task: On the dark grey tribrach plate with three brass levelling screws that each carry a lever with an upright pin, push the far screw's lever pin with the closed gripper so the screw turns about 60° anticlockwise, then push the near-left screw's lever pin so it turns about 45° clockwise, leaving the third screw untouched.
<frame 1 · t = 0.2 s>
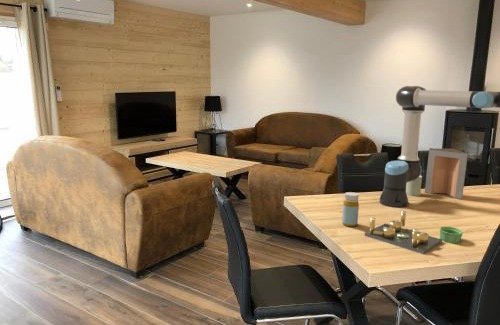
tribrach: (402, 238, 169), on the table
knob 2: (398, 220, 177), point 5 cm above the table, hinge at 0.0°
knob 1: (419, 235, 160), point 5 cm above the table, hinge at 0.0°
cabinet: (444, 195, 240), on the table
ramekin: (450, 240, 169), on the table
can: (412, 194, 241), on the table
bottle: (349, 224, 185), on the table
knob 3: (382, 227, 169), point 5 cm above the table, hinge at 0.0°
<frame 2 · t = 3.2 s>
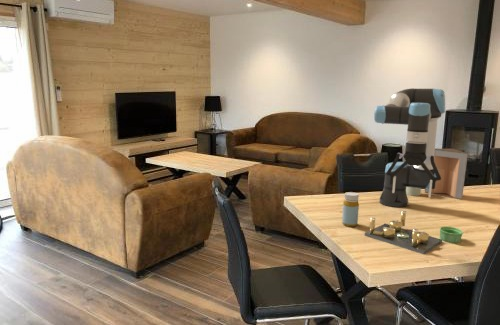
hand: (411, 194, 159), 21 cm above the table, fingers open, 13 cm apart
nothing on the table moved.
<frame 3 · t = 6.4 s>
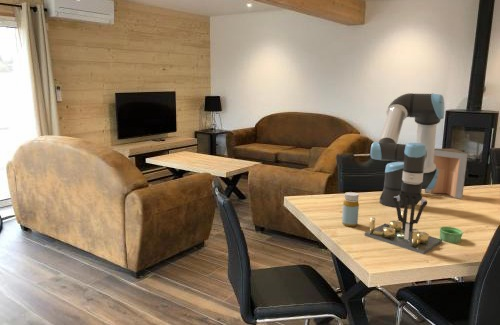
hand: (406, 238, 160), 3 cm above the table, fingers closed
knob 1: (419, 235, 160), point 5 cm above the table, hinge at 0.1°, touching gripper
everything else where it was.
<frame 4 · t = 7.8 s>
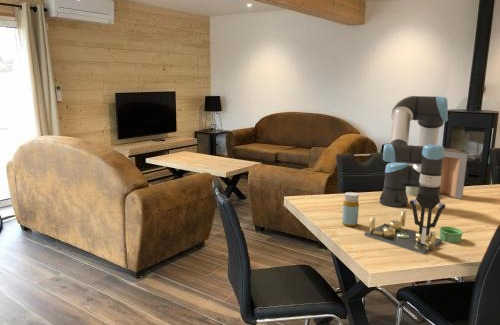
hand: (423, 242, 156), 4 cm above the table, fingers closed
knob 1: (426, 235, 159), point 5 cm above the table, hinge at 54.7°, touching gripper
everything else where it was.
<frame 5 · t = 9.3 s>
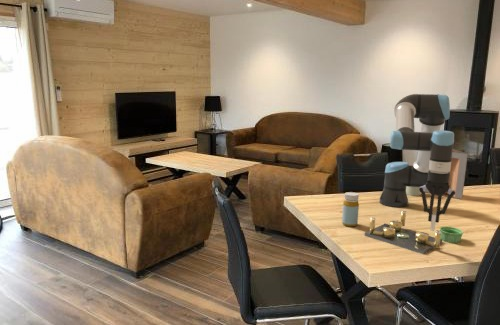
hand: (432, 229, 155), 9 cm above the table, fingers closed
knob 1: (428, 235, 160), point 5 cm above the table, hinge at 76.0°
everything else where it was.
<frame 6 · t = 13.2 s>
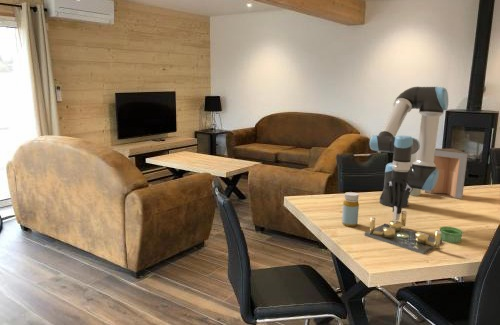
hand: (396, 219, 183), 4 cm above the table, fingers closed
knob 2: (398, 220, 177), point 5 cm above the table, hinge at -2.2°, touching gripper
everything else where it was.
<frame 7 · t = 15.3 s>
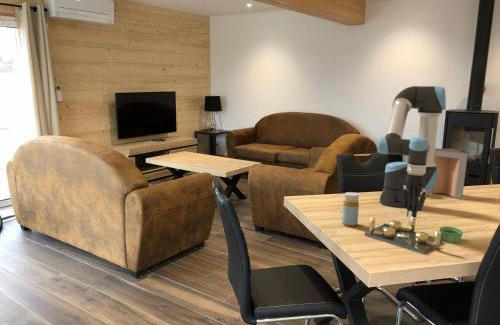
hand: (410, 224, 176), 3 cm above the table, fingers closed
knob 2: (402, 222, 175), point 5 cm above the table, hinge at -65.3°
everything else where it was.
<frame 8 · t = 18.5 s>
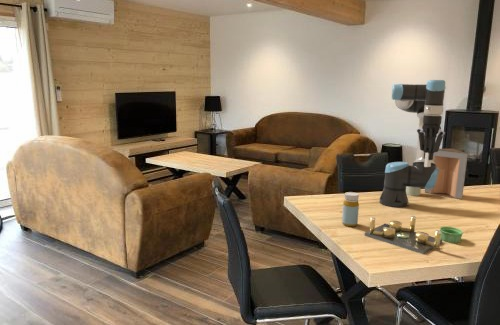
hand: (427, 166, 180), 28 cm above the table, fingers closed
nothing on the table moved.
at the end: knob 1 at +76° (first picture: +0°); knob 2 at -65° (first picture: +0°); knob 3 at +0° (first picture: +0°) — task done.
